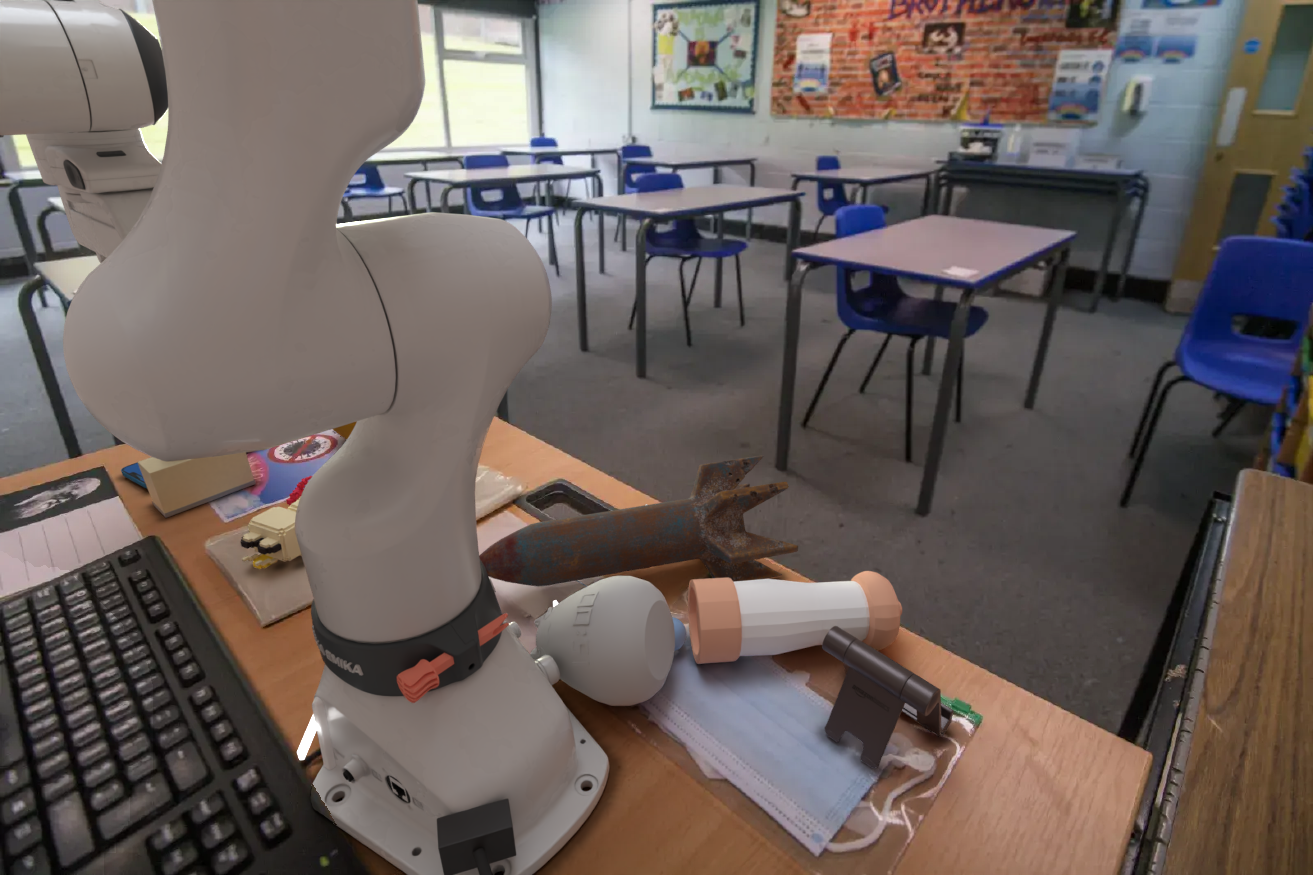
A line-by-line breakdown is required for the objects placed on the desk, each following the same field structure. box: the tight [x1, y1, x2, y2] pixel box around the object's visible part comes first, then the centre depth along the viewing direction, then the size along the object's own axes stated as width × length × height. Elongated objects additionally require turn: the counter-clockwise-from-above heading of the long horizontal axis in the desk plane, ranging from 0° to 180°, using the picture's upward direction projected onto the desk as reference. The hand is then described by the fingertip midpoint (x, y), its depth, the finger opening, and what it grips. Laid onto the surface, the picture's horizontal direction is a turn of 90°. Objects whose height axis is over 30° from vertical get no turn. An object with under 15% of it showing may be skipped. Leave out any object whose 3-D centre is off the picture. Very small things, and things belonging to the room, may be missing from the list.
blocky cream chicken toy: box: [240, 475, 313, 570], centre depth 80 cm, size 10×9×25 cm
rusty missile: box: [479, 455, 799, 587], centre depth 69 cm, size 12×12×30 cm
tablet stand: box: [821, 626, 955, 769], centre depth 54 cm, size 9×8×8 cm
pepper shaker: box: [687, 570, 903, 665], centre depth 63 cm, size 7×7×19 cm
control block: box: [137, 452, 256, 518], centre depth 84 cm, size 4×10×6 cm, turn 140°
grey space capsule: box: [529, 575, 675, 707], centre depth 58 cm, size 10×10×12 cm
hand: (141, 300), depth 74 cm, fingers open, 8 cm apart
